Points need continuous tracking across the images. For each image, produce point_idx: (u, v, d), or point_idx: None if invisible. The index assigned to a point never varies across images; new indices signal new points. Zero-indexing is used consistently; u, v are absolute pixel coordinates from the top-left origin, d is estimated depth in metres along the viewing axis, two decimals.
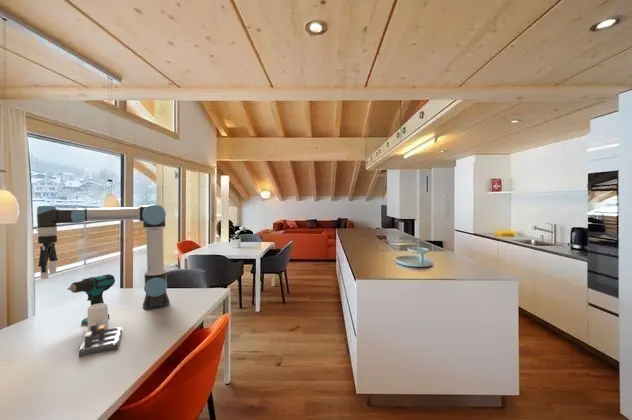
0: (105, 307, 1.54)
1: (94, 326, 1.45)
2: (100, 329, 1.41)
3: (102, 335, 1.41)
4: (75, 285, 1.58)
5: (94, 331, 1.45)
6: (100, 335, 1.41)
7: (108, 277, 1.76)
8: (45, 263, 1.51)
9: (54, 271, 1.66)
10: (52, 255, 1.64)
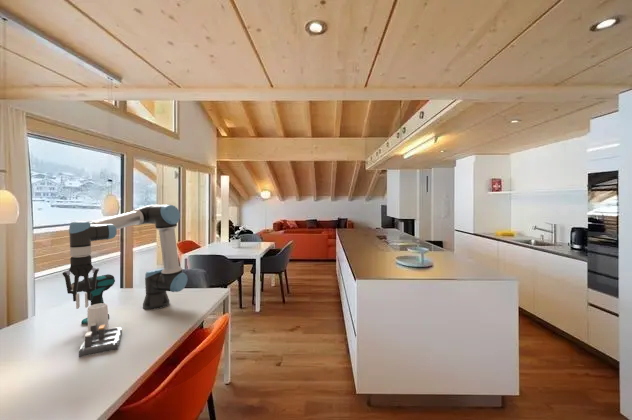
0: (105, 307, 1.54)
1: (94, 326, 1.45)
2: (100, 329, 1.41)
3: (102, 335, 1.41)
4: None
5: (94, 331, 1.45)
6: (100, 335, 1.41)
7: (108, 277, 1.76)
8: (68, 292, 1.36)
9: (85, 305, 1.39)
10: None
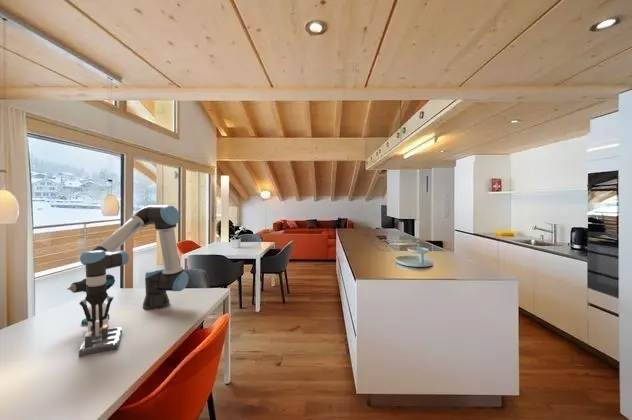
0: (105, 307, 1.54)
1: None
2: (103, 328, 1.42)
3: (105, 334, 1.42)
4: (75, 285, 1.58)
5: (94, 331, 1.45)
6: (103, 334, 1.42)
7: (108, 277, 1.76)
8: (87, 320, 1.39)
9: None
10: None
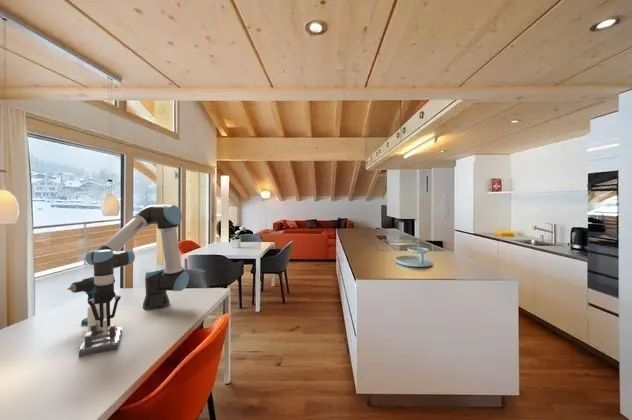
0: (105, 307, 1.54)
1: (94, 326, 1.45)
2: (111, 327, 1.43)
3: (113, 333, 1.43)
4: (75, 285, 1.58)
5: (94, 331, 1.45)
6: (111, 333, 1.43)
7: None
8: (95, 318, 1.41)
9: None
10: None
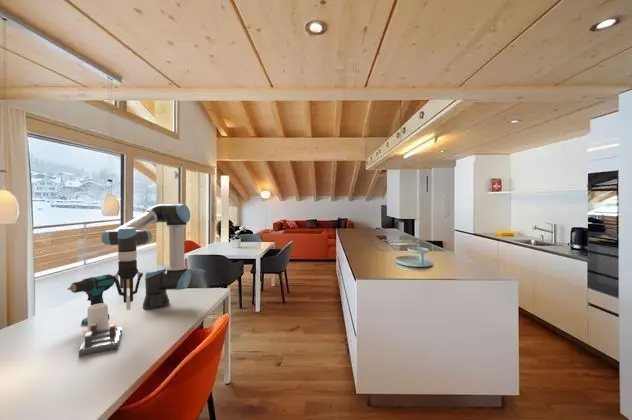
0: (105, 307, 1.54)
1: (94, 326, 1.45)
2: (111, 327, 1.43)
3: (113, 333, 1.43)
4: (75, 285, 1.58)
5: (94, 331, 1.45)
6: (111, 333, 1.43)
7: (108, 277, 1.76)
8: (119, 294, 1.45)
9: None
10: None
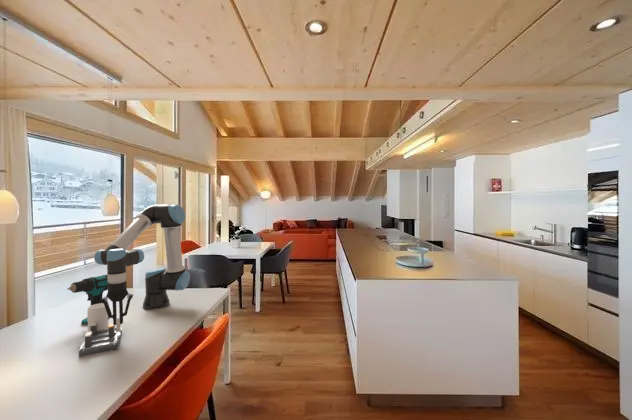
0: None
1: (94, 326, 1.45)
2: (110, 327, 1.43)
3: (112, 333, 1.43)
4: (75, 285, 1.58)
5: (94, 331, 1.45)
6: (110, 333, 1.43)
7: None
8: (109, 316, 1.43)
9: None
10: (119, 307, 1.45)
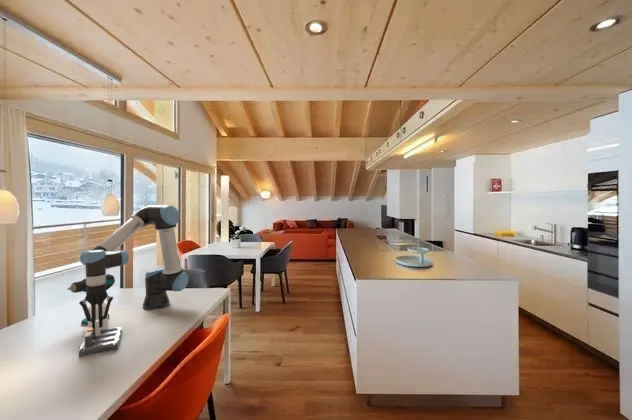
0: (105, 307, 1.54)
1: None
2: (88, 331, 1.39)
3: None
4: (75, 285, 1.58)
5: (94, 331, 1.45)
6: None
7: (108, 277, 1.76)
8: (87, 320, 1.39)
9: None
10: None
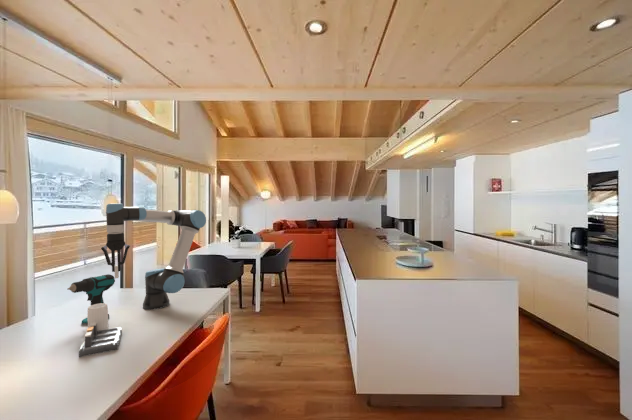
0: (105, 307, 1.54)
1: (94, 326, 1.45)
2: (88, 331, 1.39)
3: None
4: (75, 285, 1.58)
5: (94, 331, 1.45)
6: None
7: (108, 277, 1.76)
8: (108, 263, 1.58)
9: None
10: (117, 256, 1.61)
